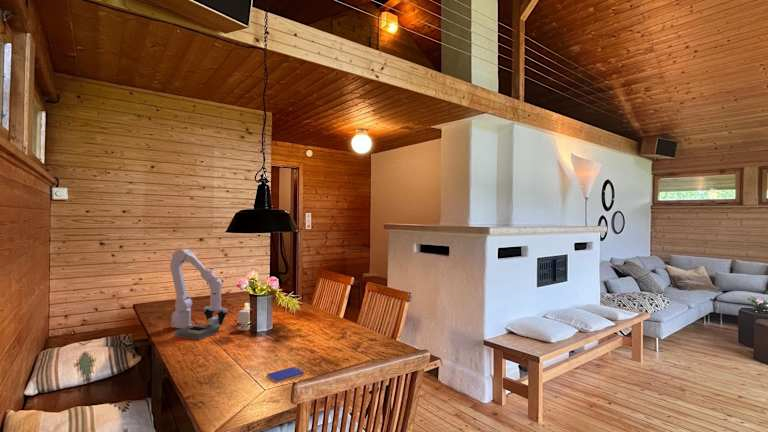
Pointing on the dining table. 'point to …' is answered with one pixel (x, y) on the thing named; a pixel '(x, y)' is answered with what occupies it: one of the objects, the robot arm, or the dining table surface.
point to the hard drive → (285, 374)
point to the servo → (214, 321)
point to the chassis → (196, 331)
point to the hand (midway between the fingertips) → (215, 323)
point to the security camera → (244, 319)
